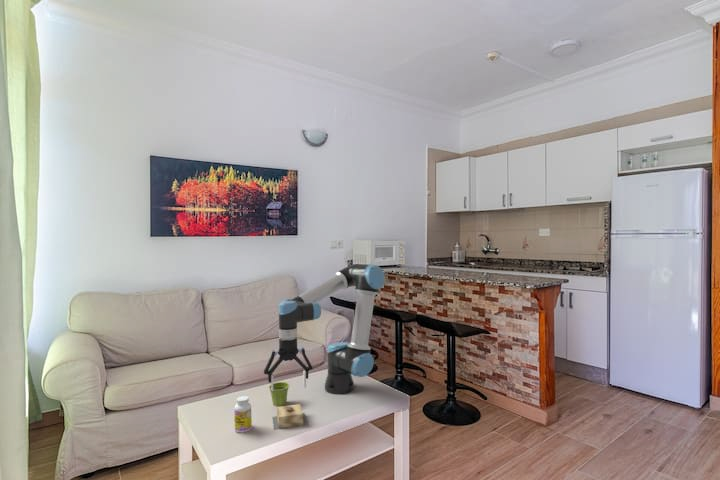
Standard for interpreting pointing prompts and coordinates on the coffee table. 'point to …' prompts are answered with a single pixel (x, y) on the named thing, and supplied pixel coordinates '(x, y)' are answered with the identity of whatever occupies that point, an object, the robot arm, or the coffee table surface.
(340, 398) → the coffee table surface
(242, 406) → the supplement bottle
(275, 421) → the mat
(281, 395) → the plant pot
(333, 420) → the coffee table surface
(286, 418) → the lid
